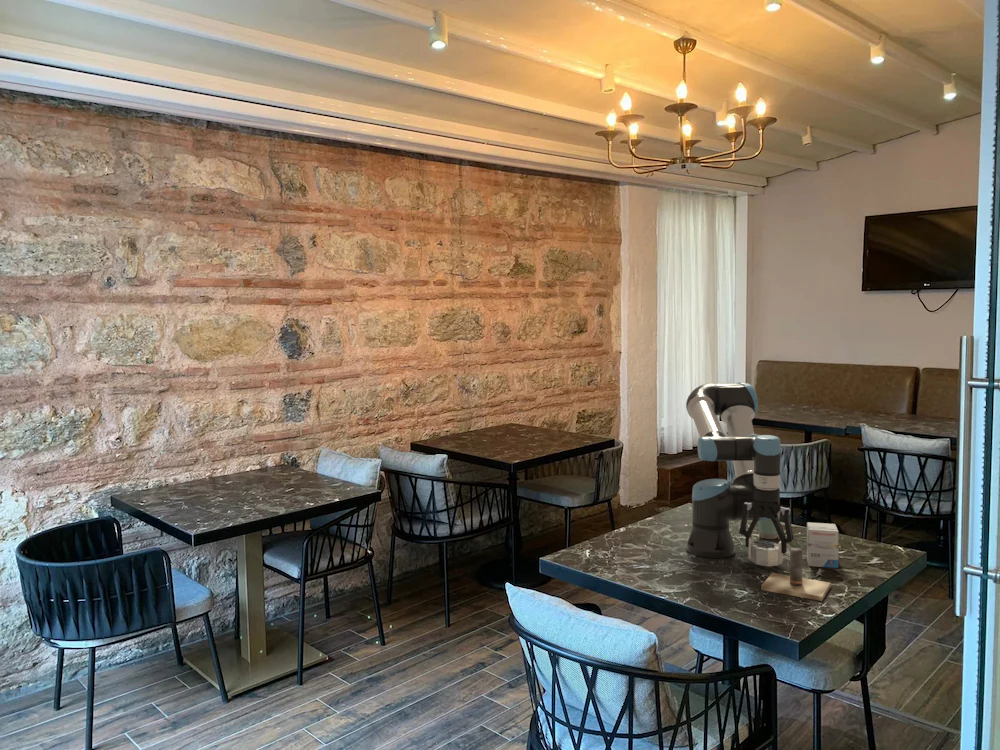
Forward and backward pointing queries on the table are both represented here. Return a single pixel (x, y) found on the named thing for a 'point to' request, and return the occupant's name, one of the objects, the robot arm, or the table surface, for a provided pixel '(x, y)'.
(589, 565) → the table surface
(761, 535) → the coffee cup
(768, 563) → the ring
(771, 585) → the post block
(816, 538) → the ink box
